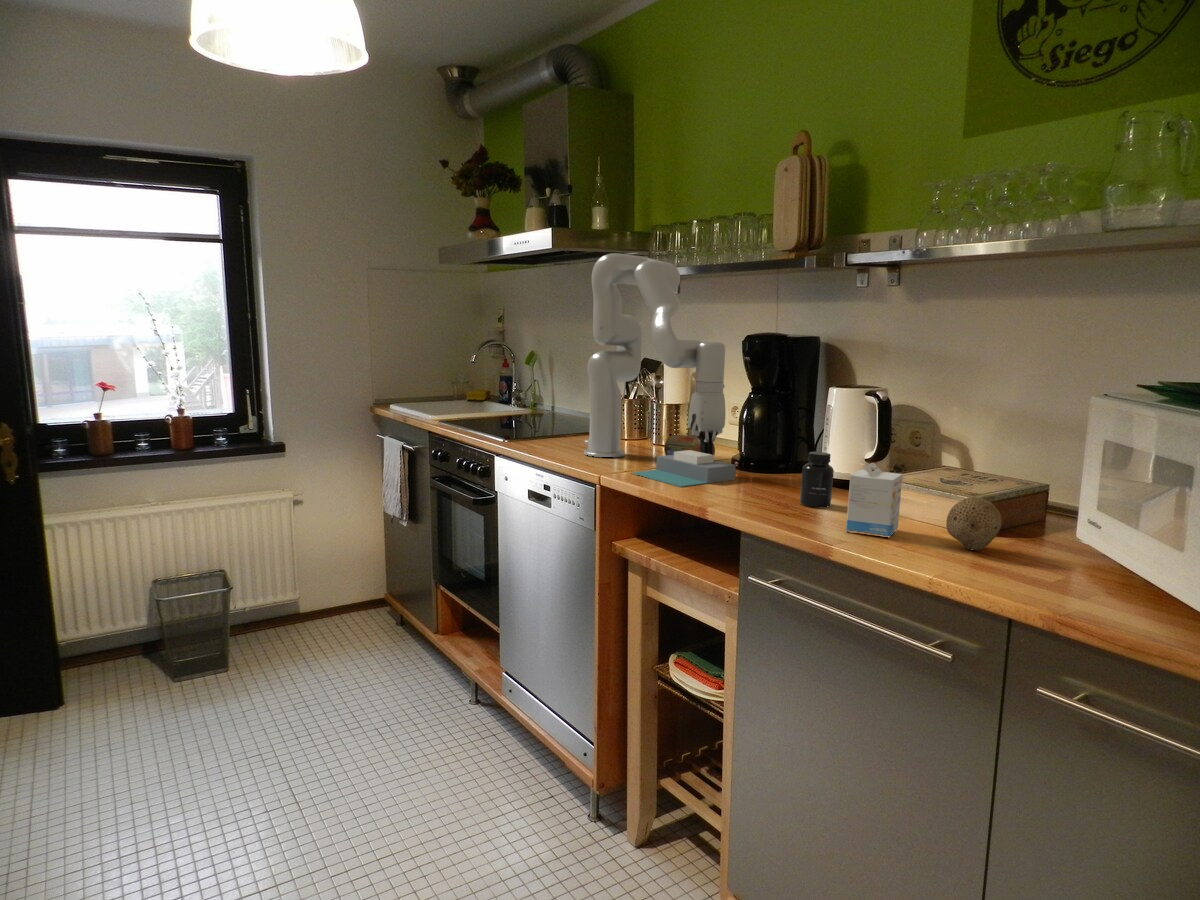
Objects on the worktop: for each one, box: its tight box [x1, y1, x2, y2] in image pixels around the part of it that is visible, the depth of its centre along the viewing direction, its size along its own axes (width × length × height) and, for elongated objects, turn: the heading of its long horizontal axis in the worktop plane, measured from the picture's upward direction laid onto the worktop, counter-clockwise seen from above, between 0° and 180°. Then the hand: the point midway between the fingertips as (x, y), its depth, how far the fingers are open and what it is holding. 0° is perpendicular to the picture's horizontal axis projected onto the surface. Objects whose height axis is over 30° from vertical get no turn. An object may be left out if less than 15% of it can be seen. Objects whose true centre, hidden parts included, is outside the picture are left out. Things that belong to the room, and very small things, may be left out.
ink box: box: [845, 462, 903, 537], centre depth 153 cm, size 9×8×13 cm
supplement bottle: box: [799, 451, 835, 508], centre depth 175 cm, size 7×7×12 cm
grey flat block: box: [655, 455, 737, 485], centre depth 207 cm, size 20×10×4 cm, turn 36°
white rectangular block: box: [674, 450, 715, 464], centre depth 207 cm, size 9×6×2 cm, turn 37°
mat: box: [631, 469, 707, 488], centre depth 202 cm, size 20×9×1 cm, turn 36°
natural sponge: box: [945, 496, 1003, 551], centre depth 141 cm, size 9×9×10 cm
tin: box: [663, 434, 716, 456], centre depth 225 cm, size 15×3×8 cm, turn 62°
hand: (705, 455), depth 209 cm, fingers closed
